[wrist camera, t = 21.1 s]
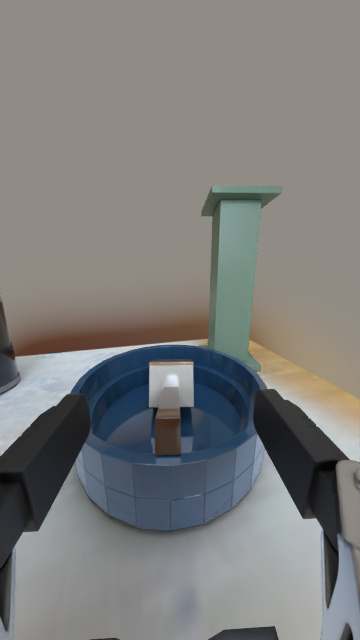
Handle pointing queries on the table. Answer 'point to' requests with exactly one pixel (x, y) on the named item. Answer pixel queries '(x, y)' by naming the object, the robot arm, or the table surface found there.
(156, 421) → the mallet with brown handle
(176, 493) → the bowl
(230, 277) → the stand
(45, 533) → the table surface
